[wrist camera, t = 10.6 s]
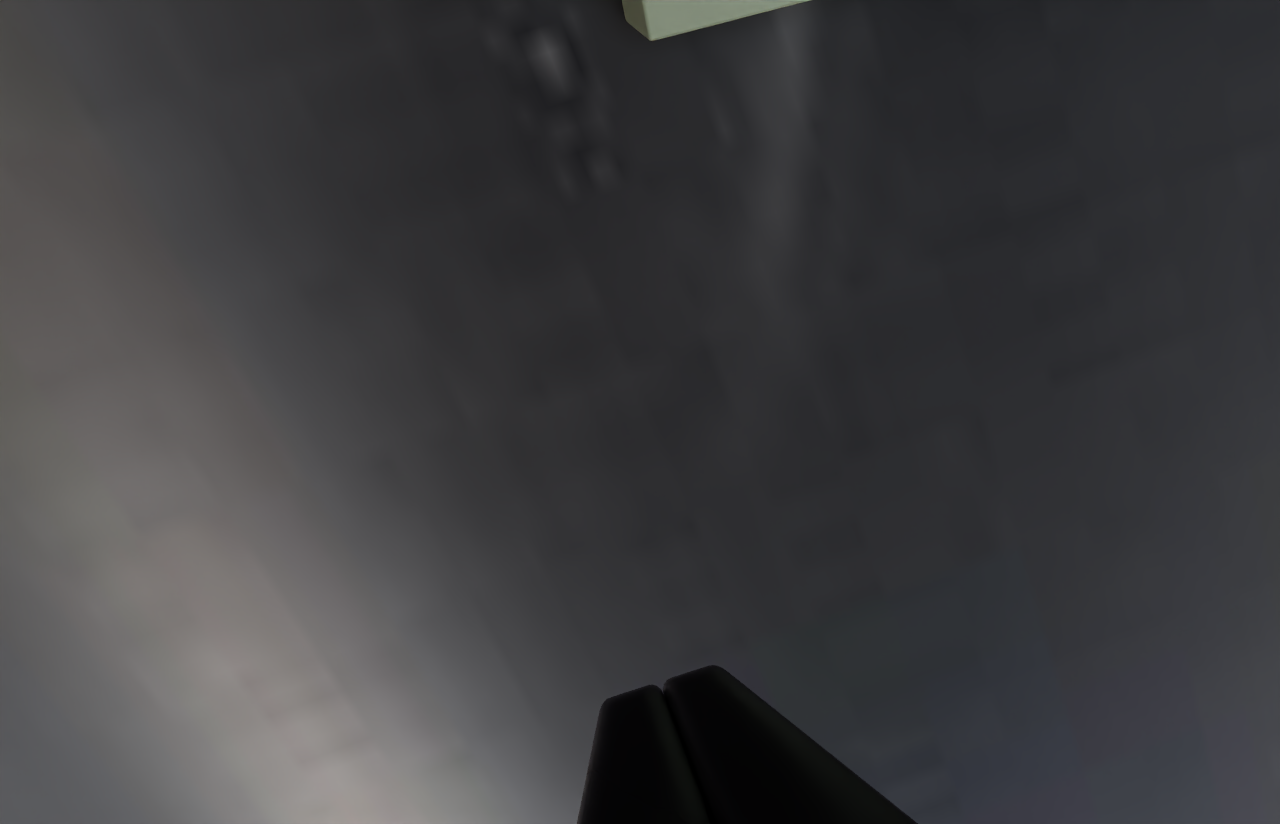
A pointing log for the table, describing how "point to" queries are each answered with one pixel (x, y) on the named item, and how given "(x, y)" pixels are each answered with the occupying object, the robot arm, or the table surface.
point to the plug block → (691, 14)
